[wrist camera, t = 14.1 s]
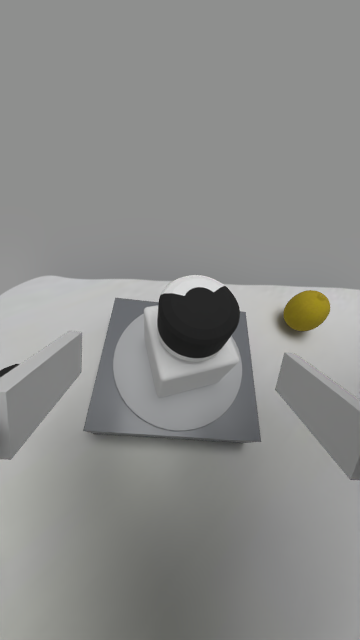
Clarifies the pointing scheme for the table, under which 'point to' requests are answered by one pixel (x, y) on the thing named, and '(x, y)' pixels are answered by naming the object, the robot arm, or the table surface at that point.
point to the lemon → (306, 310)
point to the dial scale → (174, 410)
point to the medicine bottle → (191, 334)
